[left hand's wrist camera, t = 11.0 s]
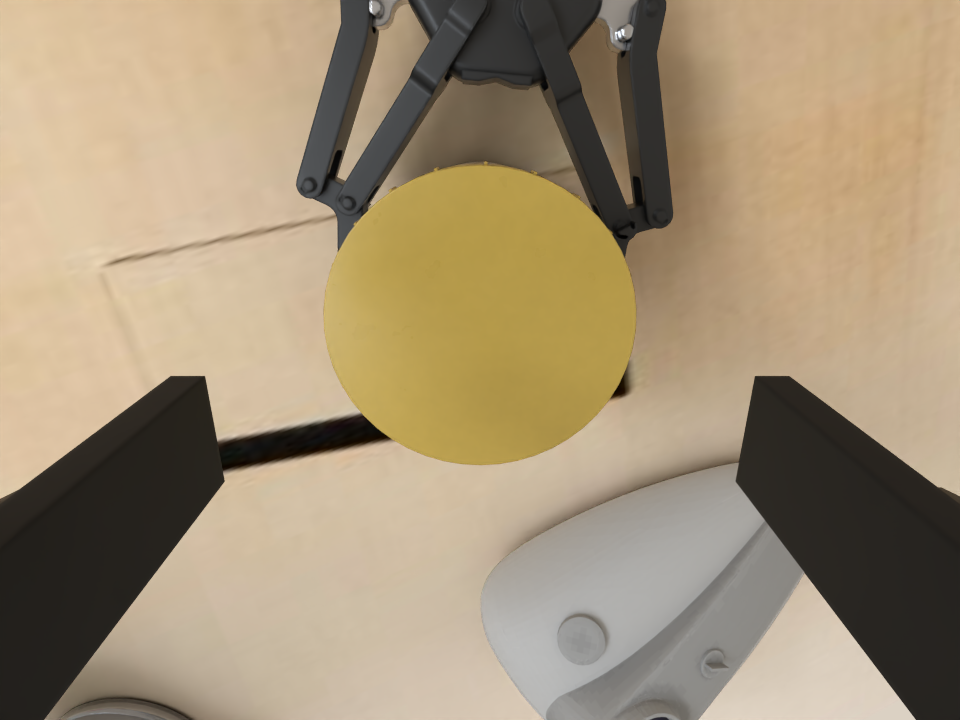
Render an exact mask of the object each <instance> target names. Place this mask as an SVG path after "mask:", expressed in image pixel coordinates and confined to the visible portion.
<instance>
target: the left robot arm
mask: <svg viewBox="0 0 960 720" xmlns="http://www.w3.org/2000/svg"><path fill="white" fill-rule="evenodd" d="M224 482H225V481H224V475H223V470H222V465H221V459H220V454H219V449H218V443H217V438H216V433H215V427H214V422H213V417H212V411H211V406H210V401H209V395H208V390H207V385H206V379H205V376H170V377H169V378H168V379H166V380H165V381H164V382H162V383H161V384H160V385H158V386H157V387H156V388H154V389H153V390H152V391H150V392H149V393H148V394H146V395H145V396H144V397H142V398H141V399H140V400H138V401H137V402H136V403H134V404H133V405H132V406H130V407H129V408H128V409H126V410H125V411H124V412H122V413H121V414H120V415H118V416H117V417H116V418H114V419H113V420H112V421H110V422H109V423H108V424H106V425H105V426H104V427H102V428H101V429H100V430H98V431H97V432H96V433H94V434H93V435H92V436H90V437H89V438H88V439H86V440H85V441H84V442H82V443H81V444H80V445H78V446H77V447H76V448H74V449H73V450H72V451H70V452H69V453H68V454H66V455H65V456H64V457H62V458H61V459H60V460H58V461H57V462H55V463H54V464H53V465H51V466H50V467H49V468H47V469H46V470H45V471H43V472H42V473H41V474H39V475H38V476H37V477H35V478H34V479H33V480H31V481H30V482H29V483H27V484H26V485H25V486H23V487H22V488H21V489H19V490H17V491H15V492H13V493H11V494H9V495H7V496H5V497H3V498H1V499H0V720H44V719H45V718H46V716H47V715H48V714H49V712H50V711H51V710H52V708H53V707H54V706H55V704H56V703H57V702H58V701H59V699H60V698H61V697H62V695H63V694H64V693H65V691H66V690H67V689H68V687H69V686H70V685H71V683H72V682H73V681H74V679H75V678H76V677H77V675H78V674H79V673H80V672H81V670H82V669H83V668H84V666H85V665H86V664H87V662H88V661H89V660H90V658H91V657H92V656H93V654H94V653H95V652H96V650H97V649H98V648H99V646H100V645H101V644H102V643H103V641H104V640H105V639H106V637H107V636H108V635H109V633H110V632H111V631H112V629H113V628H114V627H115V625H116V624H117V623H118V621H119V620H120V619H121V617H122V616H123V615H124V613H125V612H126V611H127V610H128V608H129V607H130V606H131V604H132V603H133V602H134V600H135V599H136V598H137V596H138V595H139V594H140V592H141V591H142V590H143V588H144V587H145V586H146V584H147V583H148V582H149V581H150V579H151V578H152V577H153V575H154V574H155V573H156V571H157V570H158V569H159V567H160V566H161V565H162V563H163V562H164V561H165V559H166V558H167V557H168V555H169V554H170V553H171V552H172V550H173V549H174V548H175V546H176V545H177V544H178V542H179V541H180V540H181V538H182V537H183V536H184V534H185V533H186V532H187V530H188V529H189V528H190V526H191V525H192V524H193V523H194V521H195V520H196V519H197V517H198V516H199V515H200V513H201V512H202V511H203V509H204V508H205V507H206V505H207V504H208V503H209V501H210V500H211V499H212V497H213V496H214V495H215V493H216V492H217V491H218V490H219V488H220V487H221V486H222V484H223V483H224ZM735 482H736V483H737V484H738V486H739V487H740V488H741V490H742V491H743V492H744V493H745V495H746V496H747V497H748V499H749V500H750V501H751V503H752V504H753V505H754V507H755V508H756V509H757V511H758V512H759V513H760V515H761V516H762V517H763V519H764V520H765V521H766V523H767V524H768V525H769V526H770V528H771V529H772V530H773V532H774V533H775V534H776V536H777V537H778V538H779V540H780V541H781V542H782V544H783V545H784V546H785V548H786V549H787V550H788V552H789V553H790V554H791V555H792V557H793V558H794V559H795V561H796V562H797V563H798V565H799V566H800V567H801V569H802V570H803V571H804V573H805V574H806V575H807V577H808V578H809V579H810V581H811V582H812V583H813V584H814V586H815V587H816V588H817V590H818V591H819V592H820V594H821V595H822V596H823V598H824V599H825V600H826V602H827V603H828V604H829V606H830V607H831V608H832V610H833V611H834V612H835V614H836V615H837V616H838V617H839V619H840V620H841V621H842V623H843V624H844V625H845V627H846V628H847V629H848V631H849V632H850V633H851V635H852V636H853V637H854V639H855V640H856V641H857V643H858V644H859V645H860V646H861V648H862V649H863V650H864V652H865V653H866V654H867V656H868V657H869V658H870V660H871V661H872V662H873V664H874V665H875V666H876V668H877V669H878V670H879V672H880V673H881V674H882V675H883V677H884V678H885V679H886V681H887V682H888V683H889V685H890V686H891V687H892V689H893V690H894V691H895V693H896V694H897V695H898V697H899V698H900V699H901V701H902V702H903V703H904V704H905V706H906V707H907V708H908V710H909V711H910V712H911V714H912V715H913V716H914V718H915V719H916V720H960V496H958V495H956V494H954V493H952V492H949V491H947V490H945V489H943V488H938V487H937V486H935V485H934V484H933V483H931V482H930V481H929V480H927V479H926V478H925V477H923V476H922V475H921V474H919V473H918V472H917V471H915V470H914V469H913V468H911V467H910V466H909V465H907V464H906V463H905V462H903V461H902V460H900V459H899V458H898V457H896V456H895V455H894V454H892V453H891V452H890V451H888V450H887V449H886V448H884V447H883V446H882V445H880V444H879V443H878V442H876V441H875V440H874V439H872V438H871V437H870V436H868V435H867V434H866V433H864V432H863V431H862V430H860V429H859V428H858V427H856V426H855V425H854V424H852V423H851V422H850V421H848V420H847V419H846V418H844V417H843V416H842V415H840V414H839V413H838V412H836V411H835V410H834V409H832V408H831V407H830V406H828V405H827V404H826V403H824V402H823V401H822V400H820V399H819V398H818V397H816V396H815V395H814V394H812V393H811V392H810V391H808V390H807V389H806V388H804V387H803V386H802V385H800V384H799V383H798V382H796V381H795V380H794V379H792V378H791V377H790V376H755V379H754V385H753V390H752V395H751V401H750V406H749V411H748V417H747V422H746V427H745V433H744V438H743V443H742V449H741V454H740V459H739V465H738V470H737V475H736V481H735ZM59 720H189V719H188V718H186V717H184V716H183V715H181V714H179V713H177V712H175V711H173V710H170V709H168V708H166V707H163V706H160V705H157V704H153V703H150V702H145V701H140V700H133V699H103V700H96V701H92V702H88V703H85V704H82V705H80V706H78V707H75V708H74V709H72V710H70V711H69V712H67V713H66V714H65V715H63V716H62V717H61V718H60V719H59Z"/></svg>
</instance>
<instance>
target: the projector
mask: <svg viewBox="0 0 960 720" xmlns="http://www.w3.org/2000/svg"><path fill="white" fill-rule="evenodd" d="M738 465H739V462H738V463H732V464H727V465H722V466H717V467H713V468H708V469H704V470H700V471H696V472H693V473H689V474H685V475H682V476H678V477H675V478H671V479H668V480H665V481H662V482H659V483H656V484H653V485H650V486H647V487H644V488H641V489H638V490H636V491H633V492H630V493H627V494H625V495H622V496H620V497H617V498H615V499H612V500H610V501H607V502H605V503H603V504H600V505H598V506H596V507H594V508H591V509H589V510H587V511H585V512H583V513H580V514H578V515H576V516H574V517H572V518H570V519H568V520H566V521H564V522H562V523H560V524H558V525H556V526H554V527H552V528H551V529H549V530H547V531H545V532H543V533H541V534H539V535H538V536H536V537H534V538H533V539H531V540H529V541H528V542H526V543H524V544H523V545H521V546H520V547H519V548H517V549H516V550H514V551H513V552H511V553H510V554H509V555H508V556H506V557H505V558H504V559H503V560H501V561H500V562H499V564H498V565H497V566H496V567H495V568H494V569H493V570H492V572H491V573H490V575H489V576H488V578H487V580H486V582H485V584H484V587H483V590H482V594H481V615H482V621H483V626H484V630H485V634H486V636H487V639H488V641H489V644H490V646H491V648H492V650H493V651H494V653H495V655H496V657H497V659H498V660H499V662H500V663H501V665H502V667H503V668H504V670H505V671H506V673H507V674H508V676H509V677H510V679H511V680H512V682H513V683H514V684H515V686H516V687H517V688H518V690H519V691H520V693H521V694H522V695H523V697H524V698H525V699H526V700H527V701H528V703H529V704H530V705H531V706H532V707H533V708H534V709H535V711H536V712H537V713H538V714H539V715H540V716H541V717H542V718H543V719H544V720H698V719H699V718H700V717H701V716H702V714H703V713H704V712H705V710H706V709H707V708H708V707H709V705H710V704H711V703H712V702H713V700H714V699H715V698H716V697H717V695H718V694H719V693H720V691H721V690H722V689H723V688H724V686H725V685H726V684H727V683H728V682H729V681H730V679H731V678H732V677H733V676H734V674H735V673H736V672H737V671H738V669H739V668H740V667H741V666H742V664H743V663H744V662H745V660H746V659H747V658H748V657H749V655H750V654H751V653H752V651H753V650H754V648H755V647H756V646H757V644H758V643H759V642H760V640H761V639H762V637H763V636H764V635H765V633H766V632H767V630H768V629H769V628H770V626H771V625H772V623H773V622H774V620H775V619H776V617H777V616H778V614H779V613H780V611H781V610H782V608H783V607H784V605H785V604H786V602H787V601H788V599H789V598H790V596H791V594H792V593H793V591H794V589H795V588H796V586H797V584H798V583H799V581H800V579H801V578H802V576H803V574H804V571H803V570H802V569H801V567H800V566H799V565H798V563H797V562H796V561H795V559H794V558H793V557H792V555H791V554H790V553H789V552H788V550H787V549H786V548H785V546H784V545H783V544H782V542H781V541H780V540H779V538H778V537H777V536H776V534H775V533H774V532H773V530H772V529H771V528H770V526H769V525H768V524H767V523H766V521H765V520H764V519H763V517H762V516H761V515H760V513H759V512H758V511H757V509H756V508H755V507H754V505H753V504H752V503H751V501H750V500H749V499H748V497H747V496H746V495H745V493H744V492H743V491H742V490H741V488H740V487H739V486H738V484H737V483H736V482H735V481H736V475H737V470H738Z"/></svg>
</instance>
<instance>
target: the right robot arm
mask: <svg viewBox="0 0 960 720" xmlns="http://www.w3.org/2000/svg"><path fill="white" fill-rule="evenodd" d="M340 2H341V26H340V30H339V33H338V37H337V40H336V44H335V47H334V51H333V54H332V58H331V61H330V65H329V68H328V72H327V75H326V79H325V82H324V86H323V89H322V93H321V96H320V100H319V103H318V107H317V110H316V114H315V117H314V121H313V125H312V128H311V132H310V135H309V139H308V142H307V146H306V149H305V153H304V156H303V160H302V163H301V167H300V170H299V174H298V177H297V183H296V186H297V189H298V191H299V193H300V194H301V195H302V196H304V197H306V198H310V199H311V198H313V199H315V200H317V201H319V202H321V203H324V204H326V205H328V206H329V207H331V208H332V209H333V210H334V212H335V213H336V216H337V221H338V251H339V249H340V248H341V246H342V244H343V242H344V241H345V239H346V237H347V235H348V234H349V232H350V231H351V230H352V229H353V227H354V225H353V224H354V223H355V222H356V221H358V220H360V218H361V217H362V216H363V215H364V214H365V213H366V212H367V211H368V207H369V206H370V205H371V204H370V202H371V201H372V199H373V198H374V196H375V194H376V193H377V191H378V190H379V188H380V187H381V185H382V184H383V182H384V180H385V179H386V177H387V176H388V174H389V173H390V171H391V169H392V168H393V166H394V165H395V163H396V162H397V160H398V159H399V157H400V155H401V154H402V152H403V151H404V149H405V148H406V146H407V145H408V143H409V141H410V140H411V138H412V137H413V135H414V134H415V132H416V130H417V129H418V127H419V126H420V124H421V123H422V121H423V120H424V118H425V116H426V115H427V113H428V112H429V110H430V109H431V107H432V105H433V104H434V102H435V101H436V99H437V98H438V97H439V96H440V94H441V93H442V92H443V90H444V89H445V87H446V86H447V84H448V82H449V81H450V79H451V78H452V76H453V77H454V78H455V79H457V80H459V81H461V82H462V83H463V84H469V85H483V84H488V83H493V82H497V83H500V84H502V85H504V86H507V87H509V88H512V89H523V90H528V89H529V88H532V87H535V86H538V85H539V86H540V88H541V91H542V93H543V96H544V98H545V100H546V103H547V104H548V106H549V108H550V109H551V111H552V114H553V116H554V119H555V121H556V123H557V126H558V128H559V131H560V133H561V135H562V138H563V140H564V143H565V145H566V147H567V150H568V152H569V155H570V157H571V159H572V162H573V164H574V167H575V169H576V171H577V174H578V176H579V179H580V181H581V183H582V186H583V188H584V191H585V193H586V195H587V198H588V200H589V202H590V205H591V207H592V210H593V212H594V213H595V214H596V215H597V216H598V217H599V218H600V220H601V221H602V222H603V223H604V225H605V226H606V227H607V228H608V229H609V230H610V231H612V233H613V234H612V235H613V237H614V239H615V241H616V242H617V244H618V246H619V247H620V249H621V251H622V253H623V256H624V258H625V254H626V249H627V244H628V242H629V240H630V239H632V238H633V237H634V236H635V234H636V233H639V232H642V231H645V230H649V229H653V228H664V227H666V226H667V225H668V224H669V223H670V222H671V220H672V218H673V208H672V198H671V188H670V179H669V169H668V159H667V149H666V140H665V130H664V120H663V111H662V101H661V91H660V82H659V72H658V62H657V49H658V45H659V40H660V35H661V30H662V26H663V21H664V16H665V11H666V1H665V0H340ZM404 4H410V6H411V8H412V10H413V12H414V13H415V15H416V17H417V19H418V21H419V22H420V24H421V26H422V28H423V29H424V31H425V33H426V35H427V37H428V38H429V40H430V42H429V44H428V45H427V47H426V48H425V50H424V52H423V53H422V55H421V57H420V58H419V60H418V61H417V63H416V65H415V66H414V68H413V70H412V73H411V76H410V78H409V79H408V81H407V83H406V84H405V86H404V88H403V89H402V91H401V92H400V94H399V96H398V97H397V99H396V101H395V102H394V104H393V105H392V107H391V109H390V110H389V112H388V114H387V115H386V117H385V118H384V120H383V122H382V123H381V125H380V126H379V128H378V130H377V131H376V133H375V135H374V136H373V138H372V139H371V141H370V143H369V144H368V146H367V148H366V149H365V151H364V152H363V154H362V156H361V157H360V159H359V160H358V162H357V164H356V165H355V167H354V169H353V170H352V172H351V173H350V175H349V177H348V178H347V180H346V181H344V180H342V179H340V178H338V177H337V176H338V172H339V169H340V166H341V163H342V159H343V156H344V153H345V150H346V146H347V143H348V140H349V137H350V133H351V130H352V127H353V124H354V120H355V117H356V114H357V111H358V108H359V104H360V101H361V98H362V95H363V91H364V88H365V85H366V82H367V78H368V75H369V72H370V69H371V65H372V62H373V59H374V56H375V51H376V47H377V42H378V35H379V30H385V29H387V28H389V27H390V26H391V24H392V23H393V19H394V15H395V12H396V10H397V9H398V8H399V7H400V6H402V5H404ZM594 22H595V23H598V24H600V25H601V26H602V27H603V28H604V30H605V33H606V43H607V46H608V48H609V49H610V50H611V51H612V52H615V53H618V56H617V75H618V84H619V92H620V100H621V108H622V116H623V124H624V132H625V140H626V148H627V155H628V163H629V171H630V179H631V187H632V195H633V203H632V204H629V205H626V203H625V201H624V198H623V196H622V193H621V190H620V188H619V185H618V183H617V180H616V178H615V175H614V173H613V170H612V168H611V165H610V163H609V160H608V158H607V155H606V152H605V150H604V147H603V145H602V142H601V140H600V137H599V135H598V132H597V130H596V127H595V125H594V122H593V120H592V117H591V115H590V112H589V109H588V107H587V104H586V102H585V99H584V97H583V94H582V89H581V84H580V81H579V78H578V76H577V73H576V71H575V68H574V66H573V63H572V60H571V58H570V55H569V52H570V51H571V50H572V48H573V47H574V46H575V45H576V44H577V42H578V41H579V40H580V39H581V37H582V36H583V35H584V34H585V32H586V31H587V30H588V29H589V28H590V26H591V25H592V24H593V23H594Z"/></svg>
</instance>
